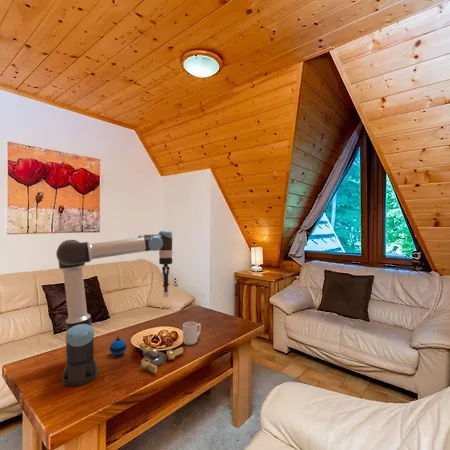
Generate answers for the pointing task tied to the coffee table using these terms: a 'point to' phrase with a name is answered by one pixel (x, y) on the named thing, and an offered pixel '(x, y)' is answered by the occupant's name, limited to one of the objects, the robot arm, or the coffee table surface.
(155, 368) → the knob
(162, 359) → the tribrach plate
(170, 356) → the knob
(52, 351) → the coffee table surface
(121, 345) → the ornament
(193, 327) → the mug
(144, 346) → the knob
